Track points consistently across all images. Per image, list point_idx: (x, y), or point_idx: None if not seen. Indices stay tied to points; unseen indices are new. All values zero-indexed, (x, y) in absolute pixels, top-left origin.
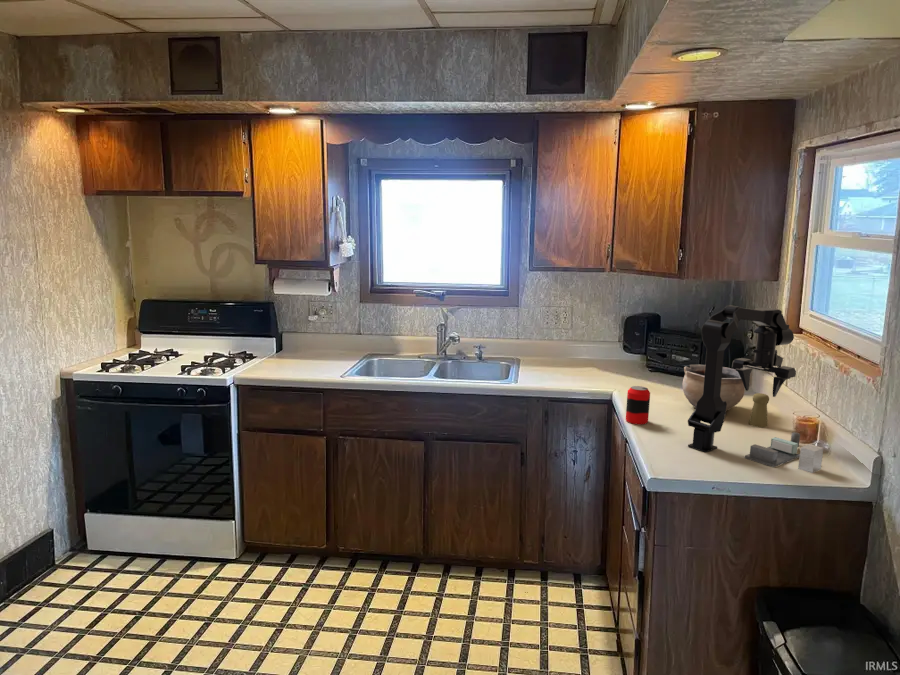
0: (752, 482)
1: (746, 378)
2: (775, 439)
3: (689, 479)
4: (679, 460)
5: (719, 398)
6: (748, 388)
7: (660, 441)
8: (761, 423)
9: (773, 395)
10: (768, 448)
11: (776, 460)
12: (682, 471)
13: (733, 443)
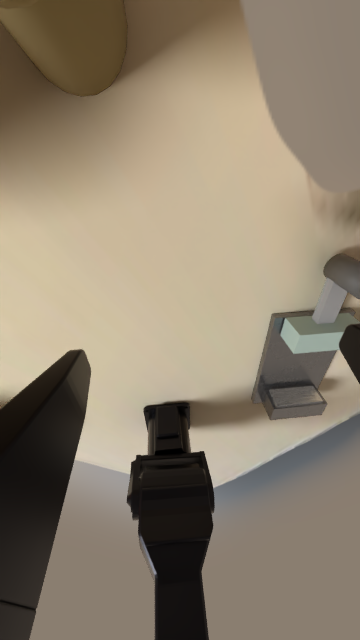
0: (297, 444)
1: (32, 534)
2: (305, 351)
3: (233, 478)
4: None
5: (202, 564)
6: (77, 362)
7: (101, 444)
8: (113, 62)
9: (352, 360)
10: (306, 406)
11: (314, 386)
12: (213, 474)
13: (187, 356)
